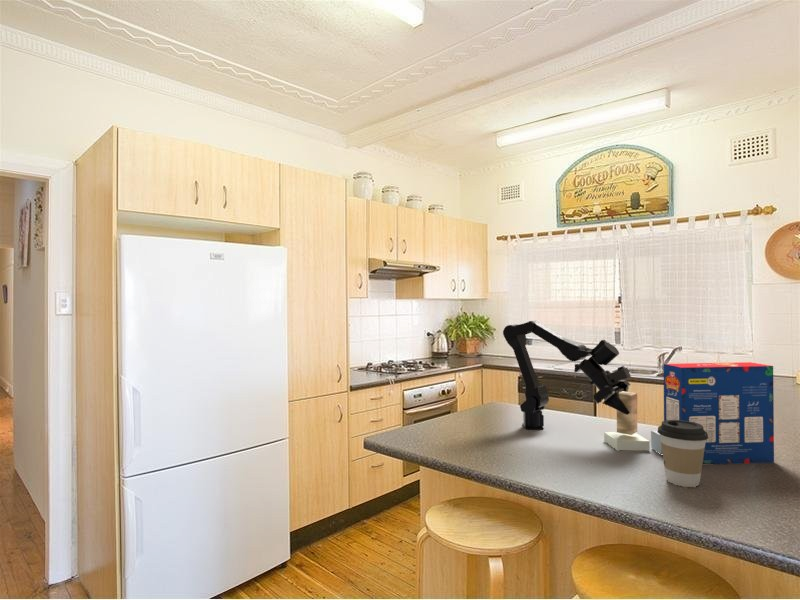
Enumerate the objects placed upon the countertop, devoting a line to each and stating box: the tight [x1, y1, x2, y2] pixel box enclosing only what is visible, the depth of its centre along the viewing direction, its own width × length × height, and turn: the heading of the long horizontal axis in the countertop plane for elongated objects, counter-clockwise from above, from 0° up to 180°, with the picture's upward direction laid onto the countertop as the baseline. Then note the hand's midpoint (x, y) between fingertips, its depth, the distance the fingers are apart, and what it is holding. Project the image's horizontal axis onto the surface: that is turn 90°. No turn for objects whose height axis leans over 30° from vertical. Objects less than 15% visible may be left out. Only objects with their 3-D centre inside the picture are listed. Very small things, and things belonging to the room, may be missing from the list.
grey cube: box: [650, 430, 663, 455], centre depth 144 cm, size 6×6×6 cm
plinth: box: [603, 431, 651, 451], centre depth 151 cm, size 10×10×4 cm
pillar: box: [616, 391, 638, 435], centre depth 150 cm, size 4×6×12 cm
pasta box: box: [663, 361, 775, 465], centre depth 138 cm, size 28×8×28 cm, turn 95°
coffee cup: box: [656, 420, 708, 488], centre depth 120 cm, size 11×11×15 cm
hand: (631, 412), depth 149 cm, fingers closed on pillar, 5 cm apart
